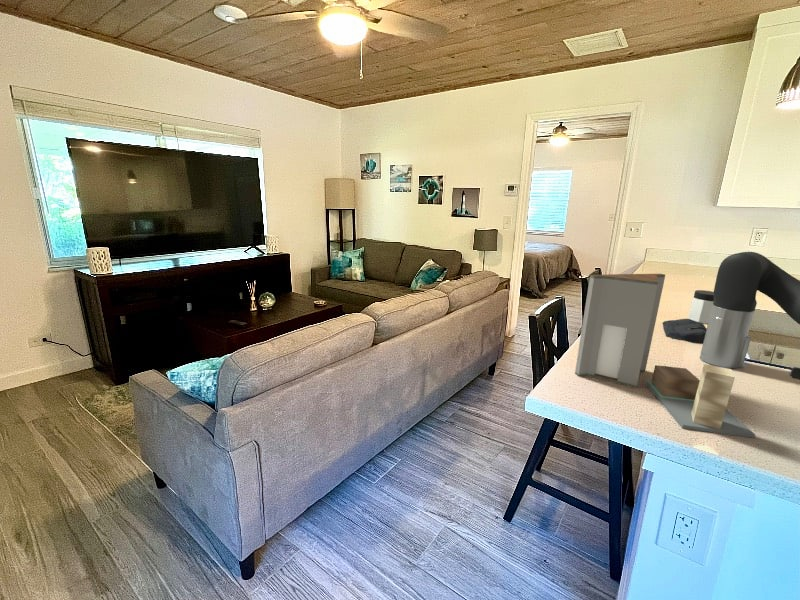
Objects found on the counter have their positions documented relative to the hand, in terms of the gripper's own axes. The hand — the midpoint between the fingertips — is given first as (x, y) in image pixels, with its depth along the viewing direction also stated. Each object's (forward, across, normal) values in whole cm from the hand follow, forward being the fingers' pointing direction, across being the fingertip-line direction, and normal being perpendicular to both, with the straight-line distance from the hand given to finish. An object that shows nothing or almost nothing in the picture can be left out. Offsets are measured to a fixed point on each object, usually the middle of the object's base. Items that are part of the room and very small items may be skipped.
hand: (798, 380), depth 71 cm
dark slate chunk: (+10, +71, -14) cm, 73 cm away
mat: (+13, +8, -14) cm, 21 cm away
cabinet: (+28, +14, -14) cm, 34 cm away
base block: (+17, +12, -13) cm, 25 cm away
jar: (+4, +92, -14) cm, 94 cm away
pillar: (+12, +1, -13) cm, 18 cm away
